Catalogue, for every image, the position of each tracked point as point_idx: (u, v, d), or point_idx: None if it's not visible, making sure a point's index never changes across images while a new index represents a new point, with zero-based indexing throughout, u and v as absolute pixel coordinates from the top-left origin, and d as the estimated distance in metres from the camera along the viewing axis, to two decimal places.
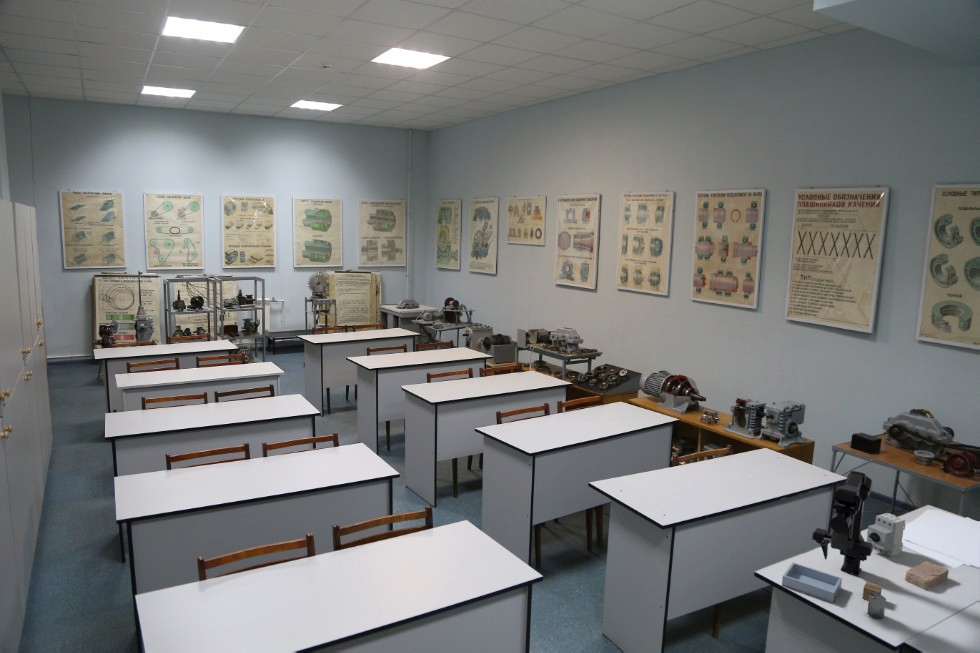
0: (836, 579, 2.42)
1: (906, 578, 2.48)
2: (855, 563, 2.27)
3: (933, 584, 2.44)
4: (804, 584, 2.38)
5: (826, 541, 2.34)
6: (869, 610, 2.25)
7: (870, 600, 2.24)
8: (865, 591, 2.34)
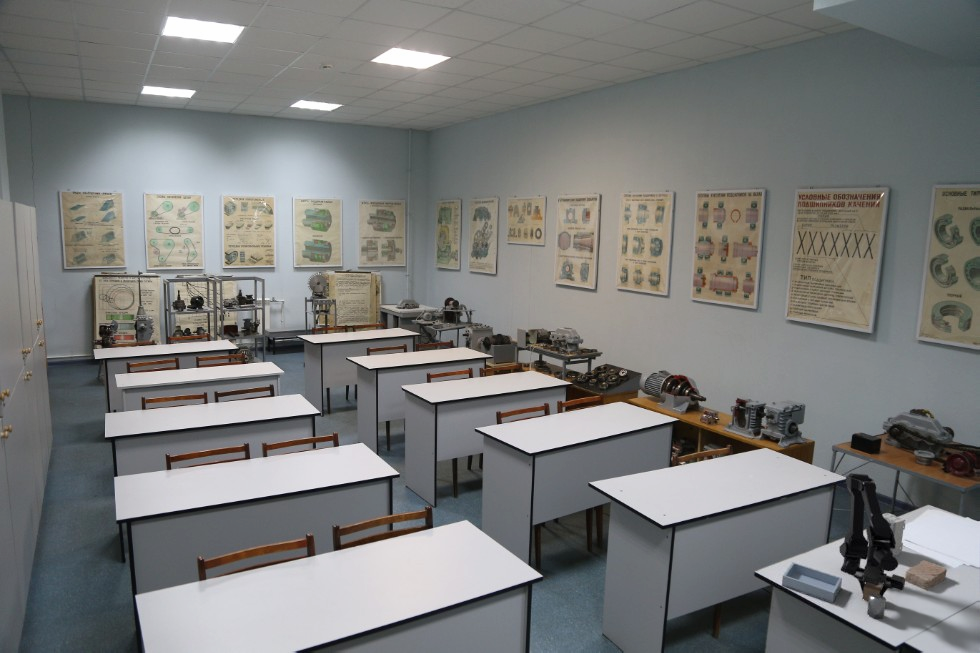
0: (836, 579, 2.42)
1: (906, 578, 2.48)
2: None
3: (932, 584, 2.45)
4: (804, 584, 2.38)
5: (864, 576, 2.37)
6: (869, 610, 2.25)
7: (870, 600, 2.24)
8: (865, 590, 2.34)
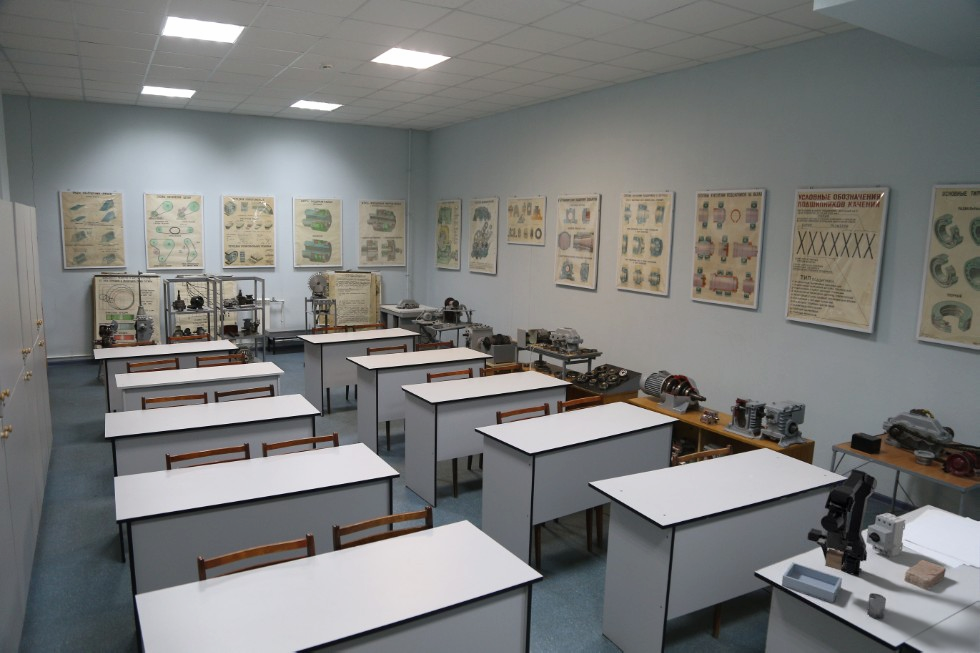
0: (836, 579, 2.42)
1: (905, 578, 2.48)
2: (843, 560, 2.36)
3: (932, 583, 2.45)
4: (804, 584, 2.38)
5: None
6: (869, 610, 2.25)
7: (870, 600, 2.24)
8: (828, 557, 2.38)
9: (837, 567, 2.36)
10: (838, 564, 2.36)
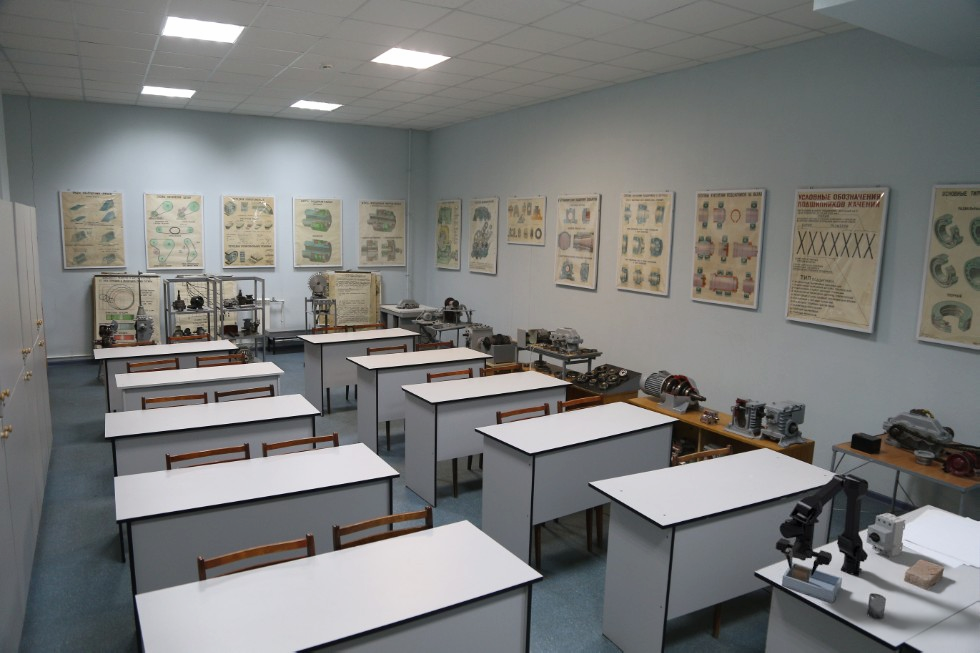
0: (836, 579, 2.42)
1: (905, 578, 2.48)
2: (813, 571, 2.41)
3: (932, 583, 2.45)
4: (804, 584, 2.38)
5: (791, 551, 2.47)
6: (869, 610, 2.25)
7: (870, 600, 2.24)
8: (794, 573, 2.44)
9: None
10: (803, 581, 2.42)
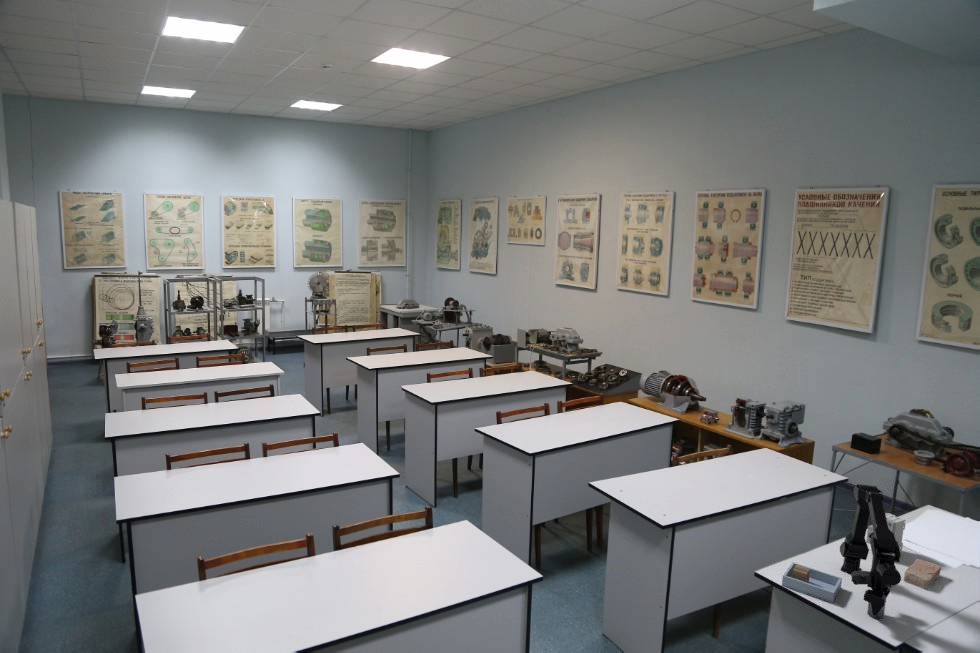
0: (836, 579, 2.42)
1: (905, 578, 2.48)
2: None
3: (931, 582, 2.45)
4: (804, 584, 2.38)
5: None
6: (869, 610, 2.25)
7: None
8: (794, 573, 2.44)
9: None
10: (803, 581, 2.42)
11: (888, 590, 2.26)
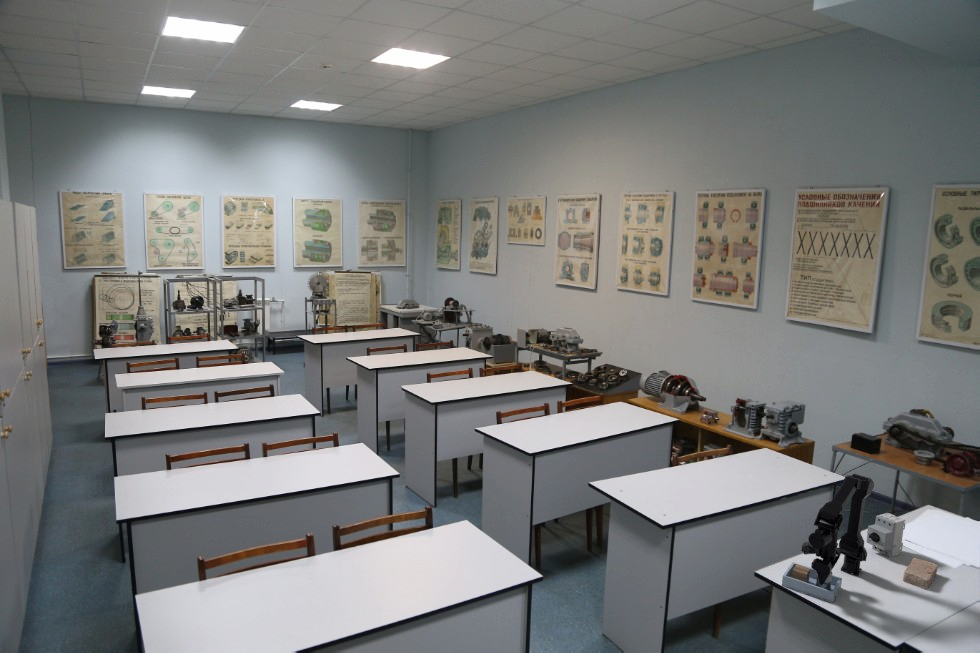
0: (836, 579, 2.42)
1: (904, 579, 2.48)
2: None
3: (930, 582, 2.46)
4: (804, 584, 2.38)
5: None
6: (817, 584, 2.40)
7: None
8: (794, 573, 2.44)
9: None
10: (803, 581, 2.42)
11: (837, 557, 2.42)
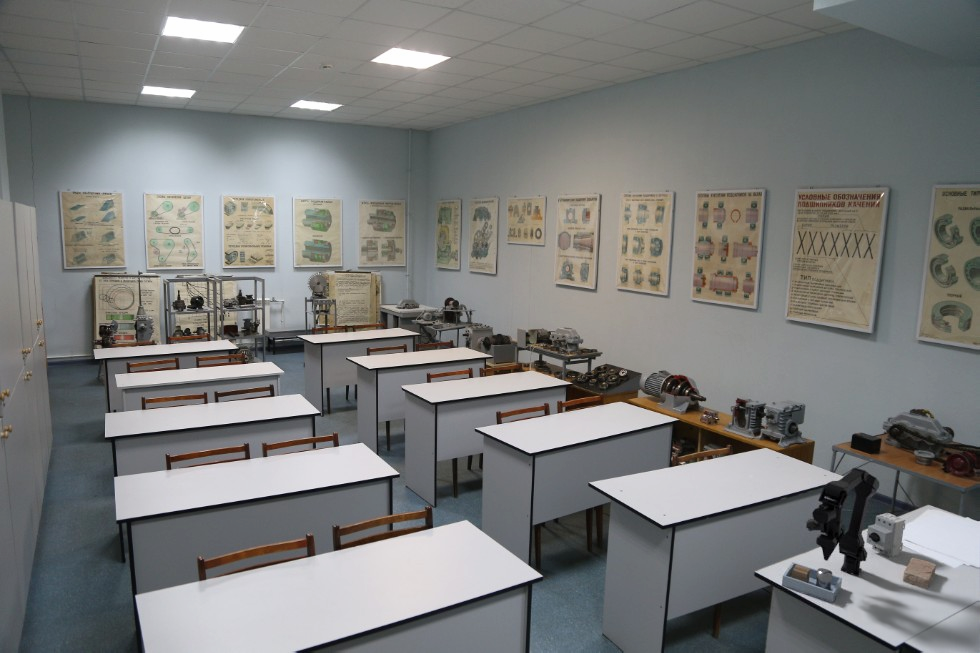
0: (836, 579, 2.42)
1: (904, 579, 2.48)
2: (823, 554, 2.38)
3: (929, 582, 2.46)
4: (804, 584, 2.38)
5: None
6: (817, 584, 2.40)
7: (818, 574, 2.39)
8: (794, 573, 2.44)
9: None
10: (803, 581, 2.42)
11: (841, 534, 2.44)
